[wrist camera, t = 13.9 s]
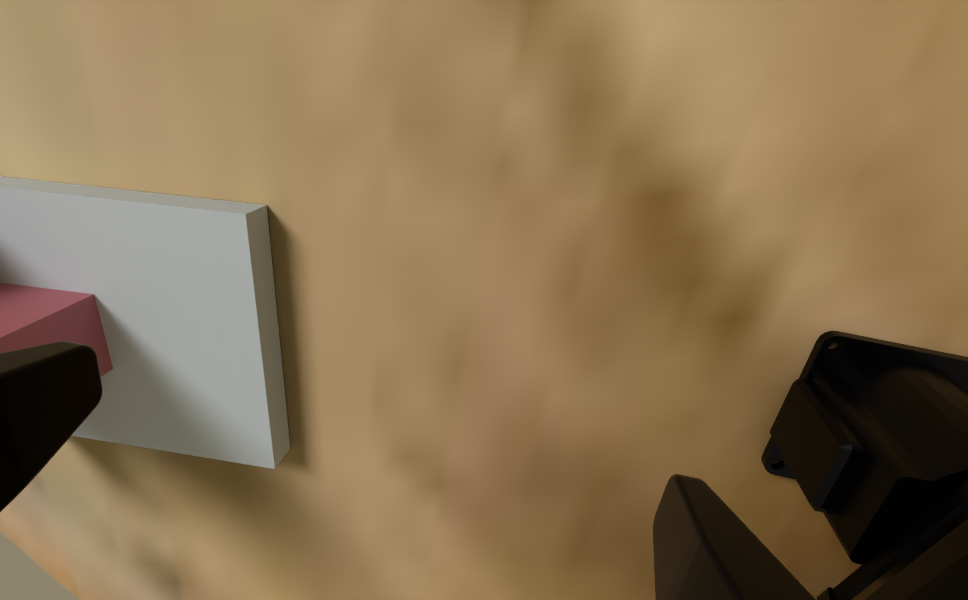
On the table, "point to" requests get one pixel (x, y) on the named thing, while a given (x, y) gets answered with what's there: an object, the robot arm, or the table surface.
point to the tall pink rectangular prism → (50, 320)
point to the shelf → (163, 311)
